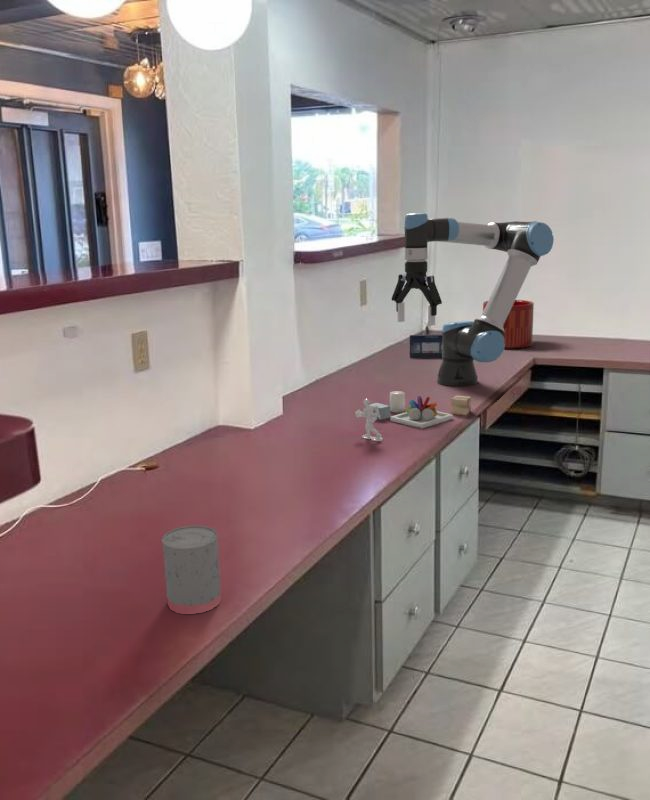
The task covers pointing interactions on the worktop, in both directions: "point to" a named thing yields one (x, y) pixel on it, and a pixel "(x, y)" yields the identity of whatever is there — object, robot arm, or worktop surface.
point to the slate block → (382, 410)
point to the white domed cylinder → (397, 401)
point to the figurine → (370, 420)
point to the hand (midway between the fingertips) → (416, 323)
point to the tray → (421, 420)
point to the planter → (518, 325)
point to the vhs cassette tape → (425, 346)
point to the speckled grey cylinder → (191, 565)
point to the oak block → (460, 405)
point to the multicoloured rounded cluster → (422, 409)
